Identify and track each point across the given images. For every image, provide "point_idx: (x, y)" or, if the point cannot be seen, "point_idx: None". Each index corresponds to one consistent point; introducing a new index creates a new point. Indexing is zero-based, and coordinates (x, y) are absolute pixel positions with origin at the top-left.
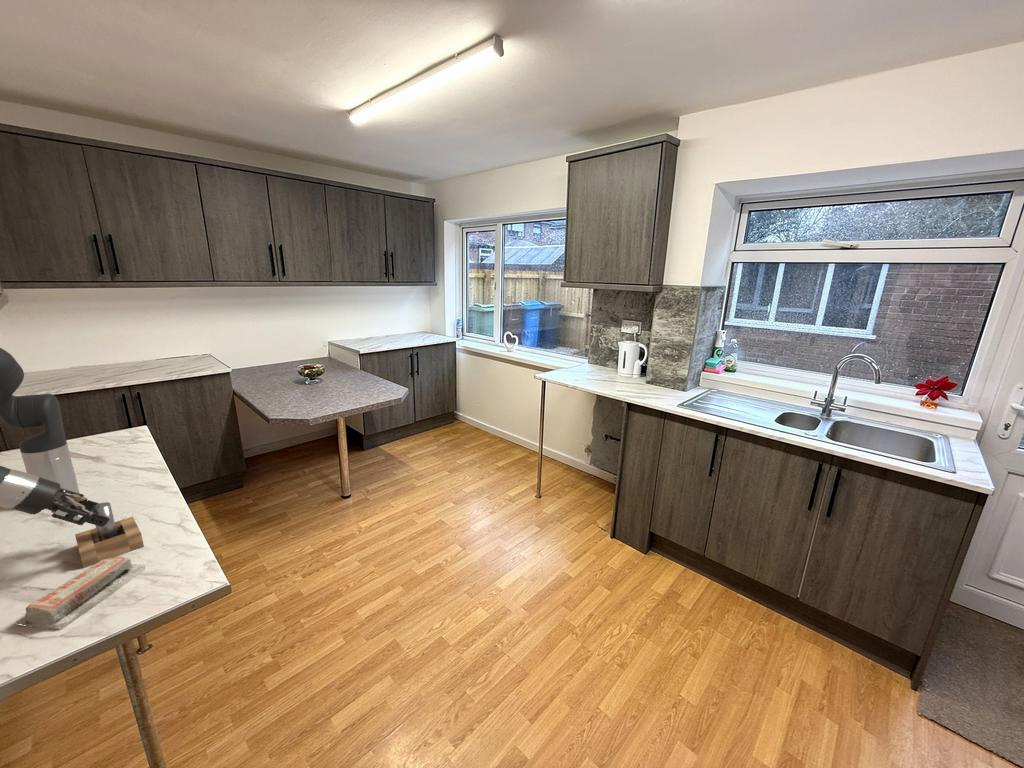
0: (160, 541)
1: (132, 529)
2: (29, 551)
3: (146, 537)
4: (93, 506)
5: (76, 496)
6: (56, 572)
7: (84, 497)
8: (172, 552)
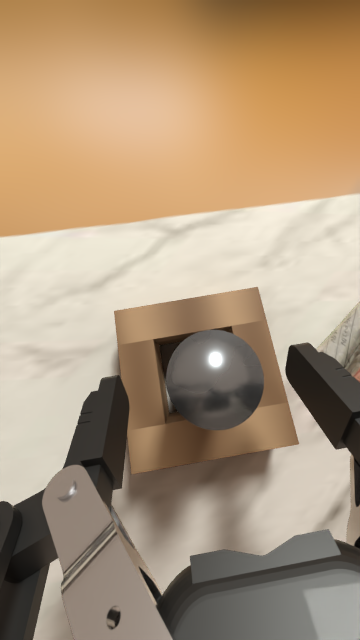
0: (239, 270)
1: (215, 308)
2: None
3: None
4: (194, 419)
5: (156, 619)
6: (258, 492)
7: (49, 497)
8: (314, 248)
